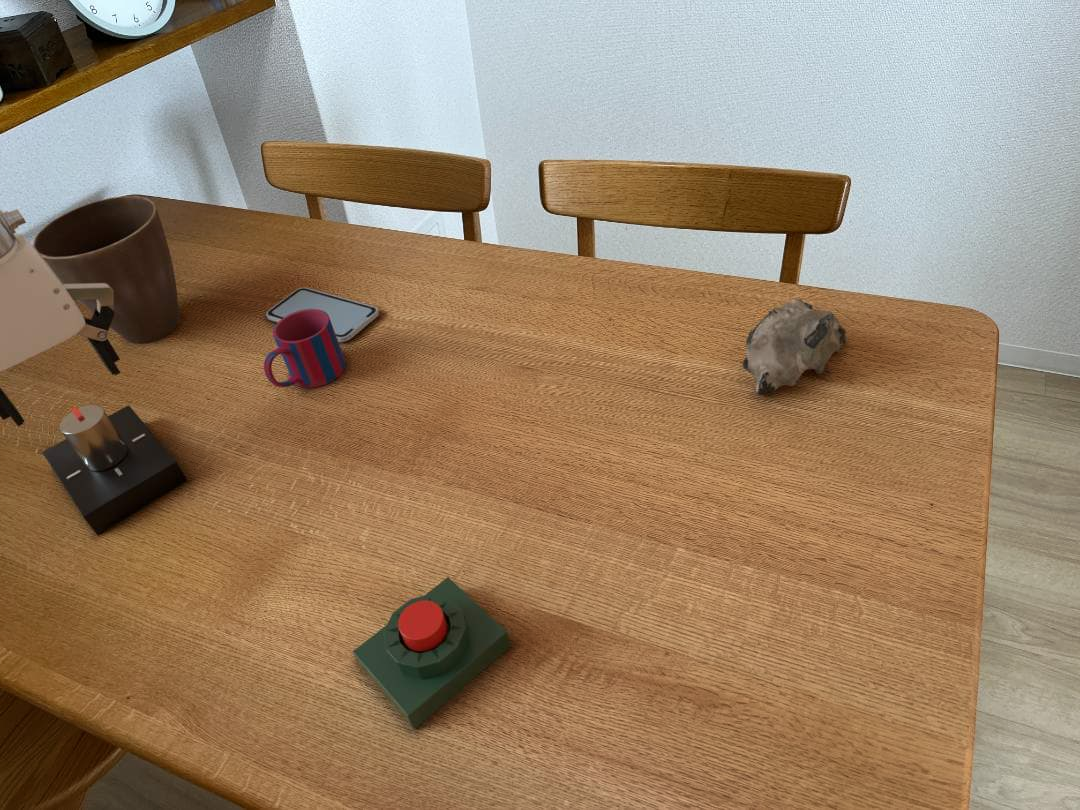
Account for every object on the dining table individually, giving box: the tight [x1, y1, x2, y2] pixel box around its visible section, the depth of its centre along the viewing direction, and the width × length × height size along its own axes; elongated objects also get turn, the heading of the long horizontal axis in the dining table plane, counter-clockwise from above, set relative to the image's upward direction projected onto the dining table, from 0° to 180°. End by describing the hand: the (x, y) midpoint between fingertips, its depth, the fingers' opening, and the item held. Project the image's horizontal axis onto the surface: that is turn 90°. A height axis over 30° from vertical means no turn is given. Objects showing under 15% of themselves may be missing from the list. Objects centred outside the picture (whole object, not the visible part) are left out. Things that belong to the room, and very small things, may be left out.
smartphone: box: [265, 287, 380, 343], centre depth 107 cm, size 7×1×15 cm
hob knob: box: [59, 404, 128, 471], centre depth 85 cm, size 4×4×6 cm
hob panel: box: [41, 404, 188, 536], centre depth 88 cm, size 14×10×3 cm
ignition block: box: [352, 576, 512, 731], centre depth 66 cm, size 10×8×4 cm
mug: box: [263, 309, 347, 388], centre depth 96 cm, size 7×10×7 cm
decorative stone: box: [741, 298, 847, 397], centre depth 85 cm, size 16×9×10 cm, turn 149°
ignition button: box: [398, 601, 447, 652], centre depth 64 cm, size 4×4×2 cm
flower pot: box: [32, 195, 180, 344], centre depth 106 cm, size 15×15×16 cm
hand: (66, 393), depth 81 cm, fingers open, 9 cm apart
